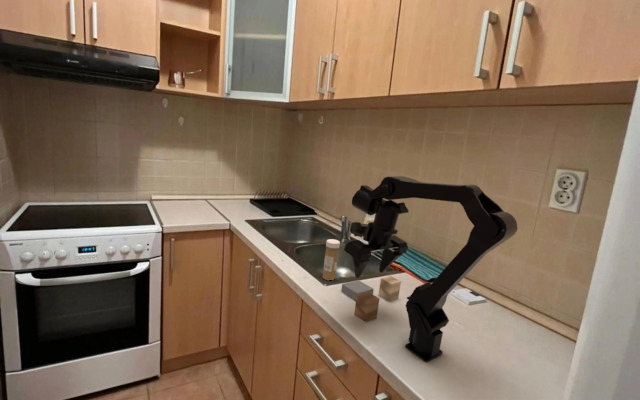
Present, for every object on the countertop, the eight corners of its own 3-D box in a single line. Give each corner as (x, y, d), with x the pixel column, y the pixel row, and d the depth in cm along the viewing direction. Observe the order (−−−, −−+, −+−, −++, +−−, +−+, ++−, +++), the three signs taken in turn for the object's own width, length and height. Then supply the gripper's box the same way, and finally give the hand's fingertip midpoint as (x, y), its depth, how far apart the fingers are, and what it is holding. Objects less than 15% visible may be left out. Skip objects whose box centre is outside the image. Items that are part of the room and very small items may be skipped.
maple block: (398, 299, 108) (401, 281, 107) (388, 302, 105) (391, 283, 104) (387, 292, 111) (390, 275, 110) (378, 295, 108) (380, 278, 107)
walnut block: (376, 318, 95) (379, 298, 94) (365, 322, 92) (368, 302, 91) (365, 311, 98) (368, 291, 97) (354, 314, 96) (356, 294, 94)
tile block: (372, 297, 107) (373, 288, 107) (356, 302, 103) (357, 293, 103) (356, 288, 113) (358, 279, 112) (341, 292, 108) (342, 284, 108)
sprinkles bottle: (338, 279, 117) (342, 242, 114) (327, 282, 114) (331, 243, 112) (330, 274, 120) (334, 238, 118) (319, 276, 118) (323, 239, 115)
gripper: (386, 209, 100) (372, 255, 105) (338, 211, 89) (325, 263, 94) (416, 225, 92) (399, 275, 97) (367, 230, 81) (350, 286, 86)
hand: (369, 274), depth 94 cm, fingers open, 9 cm apart
